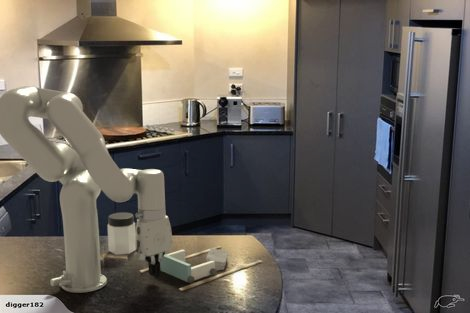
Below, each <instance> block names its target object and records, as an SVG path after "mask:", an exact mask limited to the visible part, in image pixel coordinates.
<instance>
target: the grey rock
mask: <svg viewBox="0 0 470 313" xmlns="http://www.w3.org/2000/svg"><path fill="white" fill-rule="evenodd" d="M209 249H210V250H209V252H207V255H206V258H205V260H206V262H209V261H215V269H216V270H217V271H224V270H225V267H226V265H227V262H228V261H227V260H228V255H229V252H228V251H226V250H220V249H214V247H211V248H209Z"/></svg>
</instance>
